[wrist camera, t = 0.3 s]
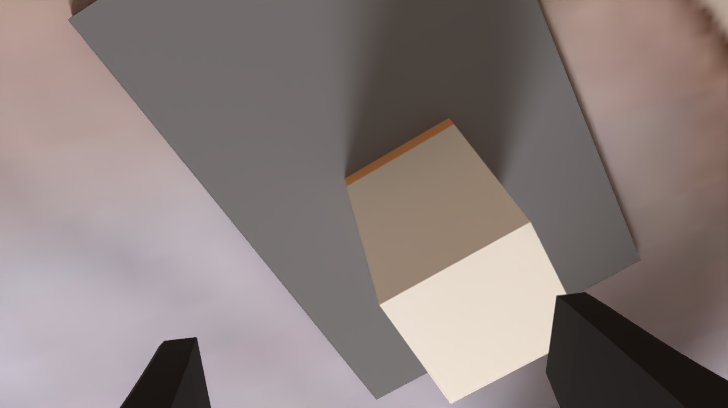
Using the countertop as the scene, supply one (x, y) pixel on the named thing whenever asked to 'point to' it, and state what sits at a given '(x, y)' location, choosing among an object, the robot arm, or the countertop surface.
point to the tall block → (454, 261)
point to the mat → (360, 132)
